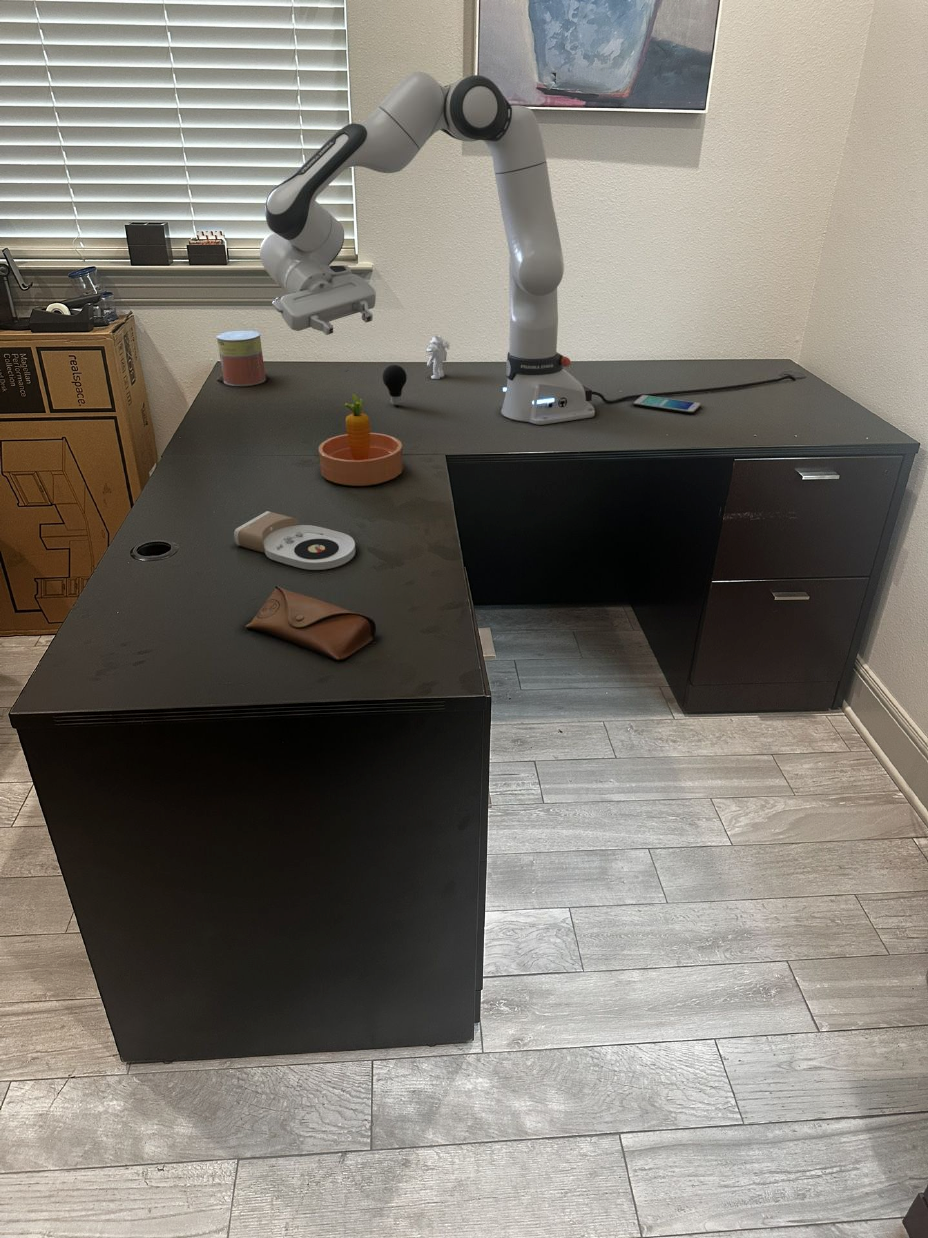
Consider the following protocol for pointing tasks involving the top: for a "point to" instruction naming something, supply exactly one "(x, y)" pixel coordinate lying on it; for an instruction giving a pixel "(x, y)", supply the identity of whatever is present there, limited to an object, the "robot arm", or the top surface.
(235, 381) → the canned food
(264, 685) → the top surface
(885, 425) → the top surface
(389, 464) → the pot
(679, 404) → the smartphone
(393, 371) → the light bulb
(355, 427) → the carrot
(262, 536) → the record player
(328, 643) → the sunglasses case
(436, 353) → the hat wearing toy figure
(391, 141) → the robot arm
